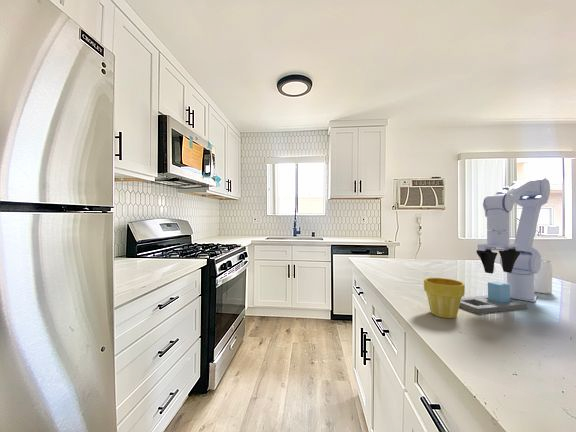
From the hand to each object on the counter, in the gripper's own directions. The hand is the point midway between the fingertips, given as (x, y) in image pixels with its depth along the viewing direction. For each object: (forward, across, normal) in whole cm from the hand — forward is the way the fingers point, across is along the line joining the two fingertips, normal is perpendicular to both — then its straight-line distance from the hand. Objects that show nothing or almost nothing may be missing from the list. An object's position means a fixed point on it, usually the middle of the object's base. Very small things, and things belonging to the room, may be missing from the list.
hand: (498, 272), depth 85 cm
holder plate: (+10, -4, 0) cm, 11 cm away
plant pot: (+11, -24, -3) cm, 26 cm away
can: (+10, +30, +8) cm, 33 cm away
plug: (+10, 0, 0) cm, 11 cm away
